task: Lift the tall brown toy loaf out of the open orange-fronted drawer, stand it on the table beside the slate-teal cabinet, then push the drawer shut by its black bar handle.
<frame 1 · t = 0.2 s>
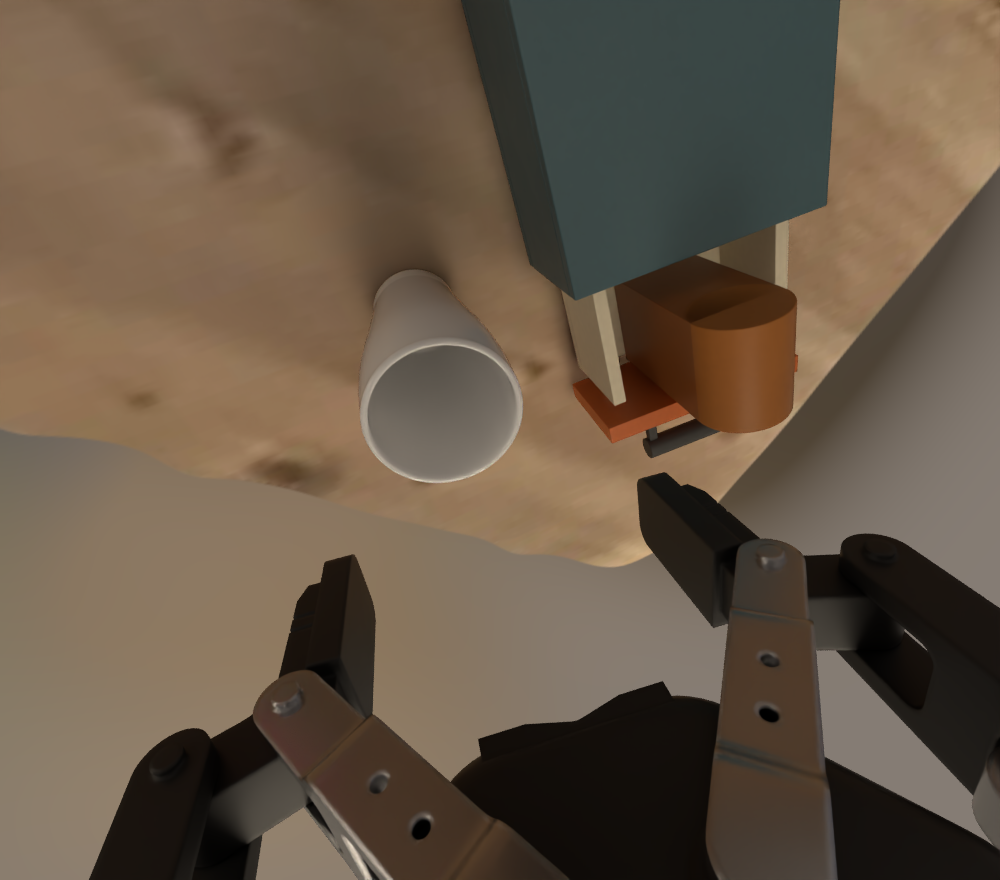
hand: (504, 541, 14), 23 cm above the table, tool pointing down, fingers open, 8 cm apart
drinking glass: (414, 308, 33), on the table
cabinet: (611, 99, 29), on the table
bread: (653, 306, 34), point 2 cm above the table, touching drawer
drawer: (671, 325, 33), point 4 cm above the table, slide at 9.0 cm, touching bread
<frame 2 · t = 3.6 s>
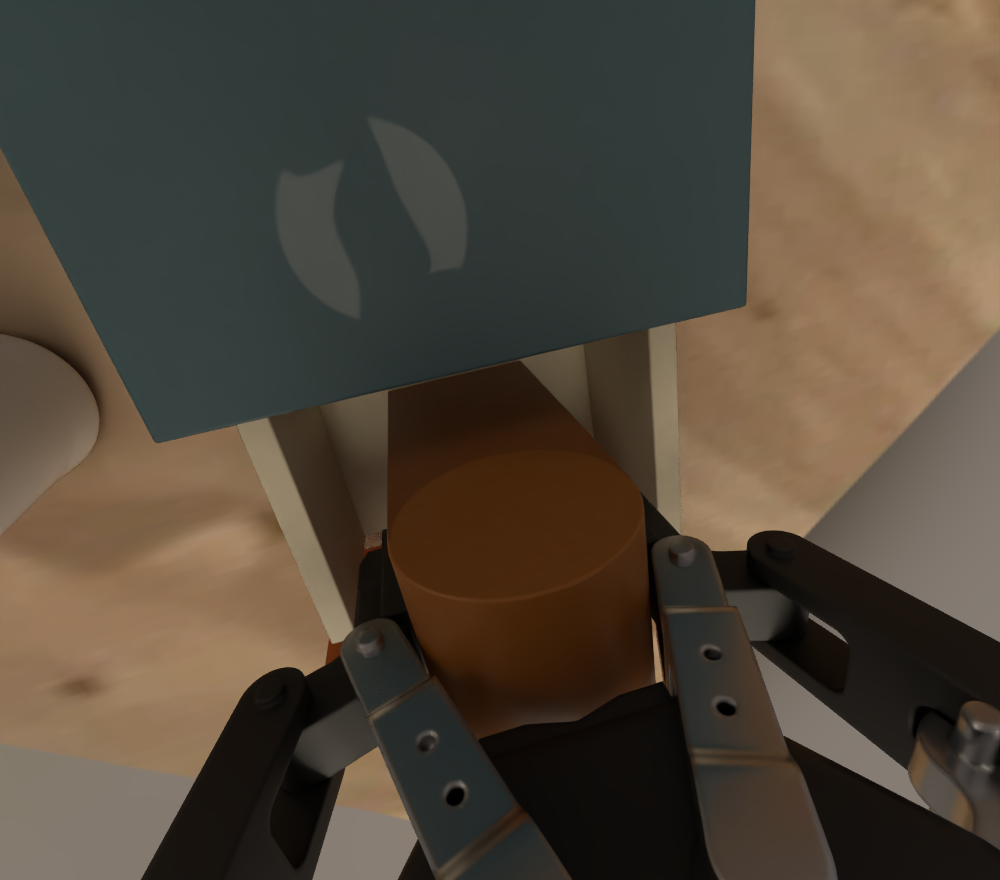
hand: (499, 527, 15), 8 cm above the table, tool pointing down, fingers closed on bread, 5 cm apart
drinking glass: (23, 402, 18), on the table
cabinet: (386, 86, 16), on the table
bread: (471, 447, 20), point 2 cm above the table, touching drawer, gripper
drawer: (484, 489, 18), point 4 cm above the table, slide at 9.0 cm, touching bread
when the fingers open (6 cm above the table, at t = 10.3 s): bread stays where it is, on the table.
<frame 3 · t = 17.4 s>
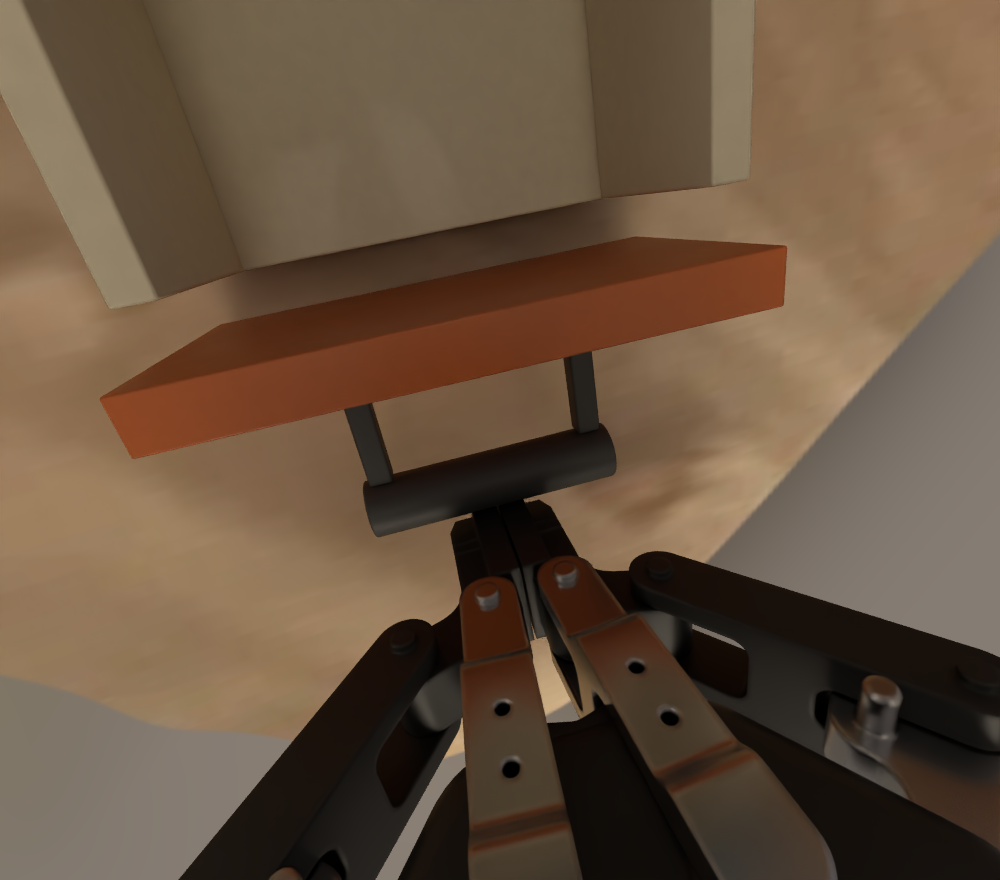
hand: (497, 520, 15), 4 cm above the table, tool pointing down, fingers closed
drawer: (414, 133, 11), point 4 cm above the table, slide at 8.9 cm, touching gripper
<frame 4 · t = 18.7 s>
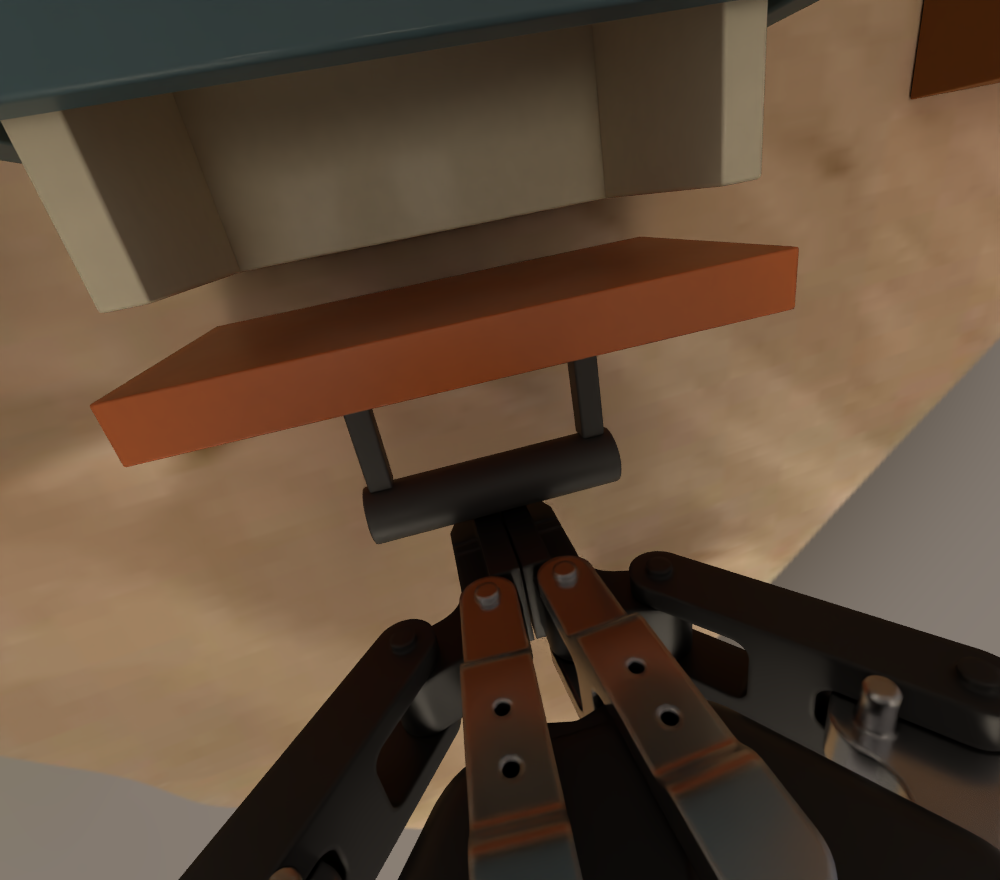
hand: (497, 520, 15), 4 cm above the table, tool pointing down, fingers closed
drawer: (415, 131, 11), point 4 cm above the table, slide at 3.8 cm, touching gripper
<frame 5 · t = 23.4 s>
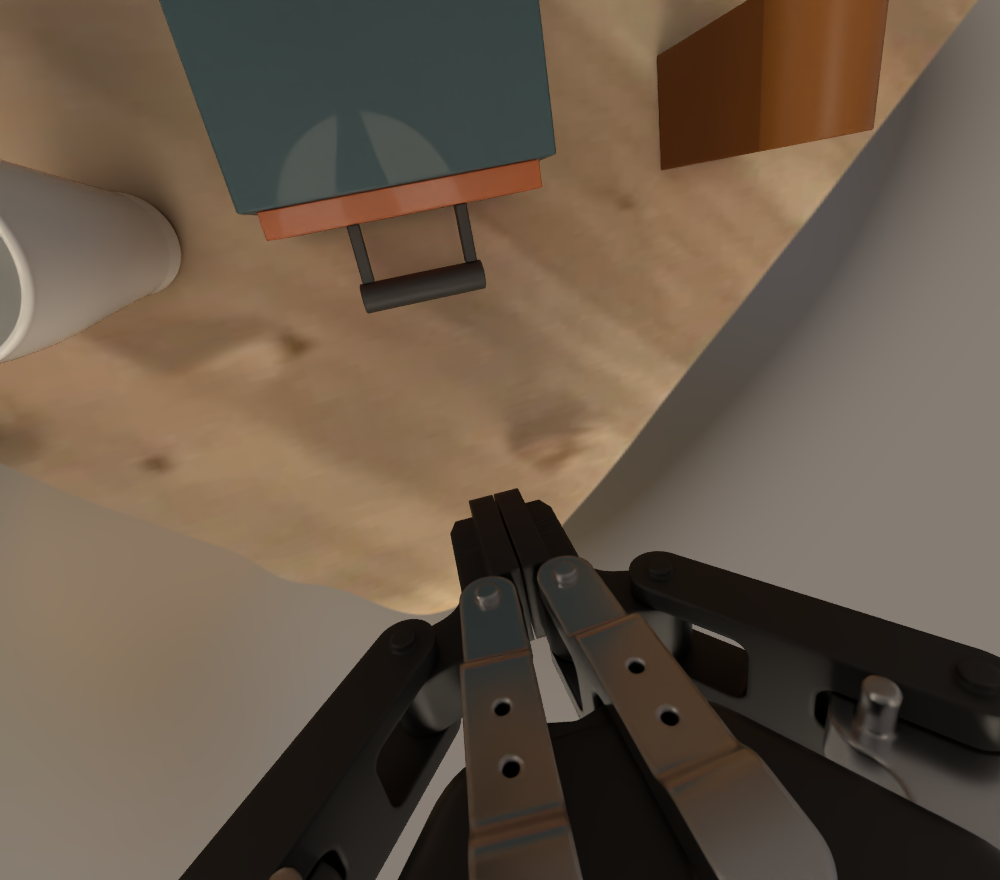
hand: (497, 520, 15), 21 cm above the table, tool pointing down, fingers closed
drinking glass: (133, 244, 28), on the table
cabinet: (363, 41, 27), on the table
bread: (696, 108, 31), on the table
drawer: (382, 112, 24), point 4 cm above the table, slide at 0.0 cm
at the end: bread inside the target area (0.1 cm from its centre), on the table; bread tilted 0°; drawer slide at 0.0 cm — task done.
